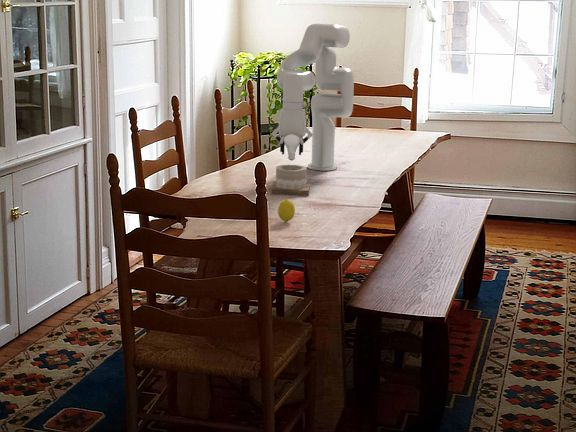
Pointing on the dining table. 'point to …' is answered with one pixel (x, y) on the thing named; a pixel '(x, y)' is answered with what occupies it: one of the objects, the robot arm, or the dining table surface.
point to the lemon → (286, 210)
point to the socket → (290, 181)
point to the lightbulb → (291, 145)
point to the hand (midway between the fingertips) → (291, 153)
